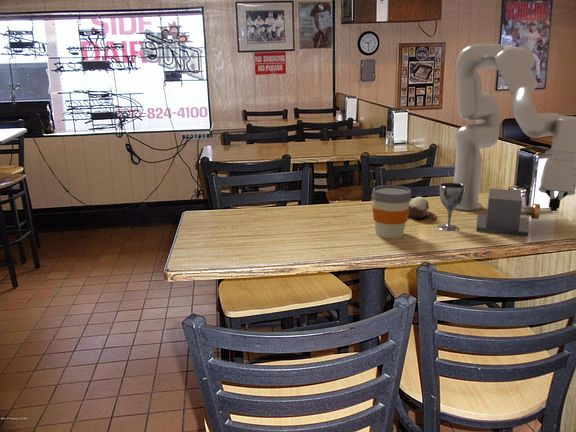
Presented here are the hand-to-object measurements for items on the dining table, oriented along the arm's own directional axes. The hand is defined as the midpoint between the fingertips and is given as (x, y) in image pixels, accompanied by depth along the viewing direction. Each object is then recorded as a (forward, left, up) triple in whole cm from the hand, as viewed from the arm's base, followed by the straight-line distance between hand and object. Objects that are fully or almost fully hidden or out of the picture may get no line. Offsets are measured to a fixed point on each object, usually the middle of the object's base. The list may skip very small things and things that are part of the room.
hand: (553, 209), depth 179 cm
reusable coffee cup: (-50, -20, -8) cm, 55 cm away
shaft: (-12, 0, -3) cm, 13 cm away
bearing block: (-15, 0, -7) cm, 17 cm away
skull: (-43, +2, -8) cm, 44 cm away
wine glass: (-32, -7, -8) cm, 34 cm away
